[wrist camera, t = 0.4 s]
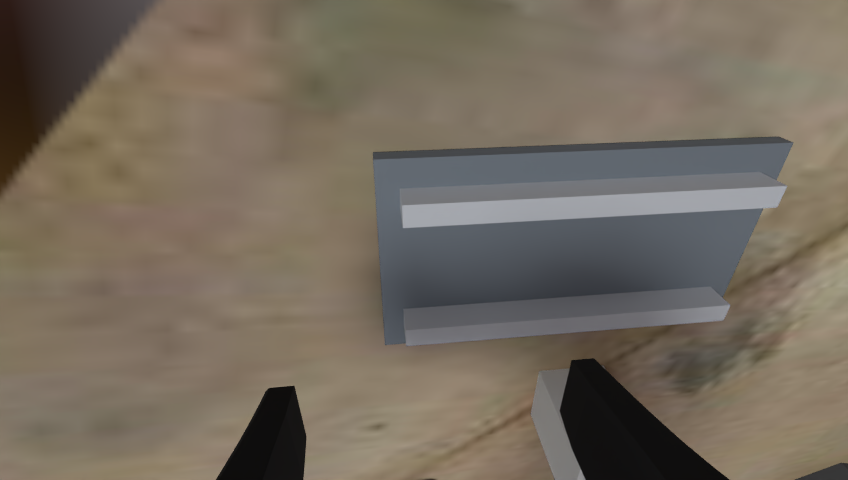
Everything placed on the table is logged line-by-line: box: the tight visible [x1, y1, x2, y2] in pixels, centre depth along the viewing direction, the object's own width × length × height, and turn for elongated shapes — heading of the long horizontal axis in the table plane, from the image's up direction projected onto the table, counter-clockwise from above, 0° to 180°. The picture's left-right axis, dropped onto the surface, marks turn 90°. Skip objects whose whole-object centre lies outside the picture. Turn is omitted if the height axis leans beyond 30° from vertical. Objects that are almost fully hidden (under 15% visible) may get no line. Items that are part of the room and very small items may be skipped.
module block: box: [531, 365, 606, 480], centre depth 25 cm, size 4×4×6 cm
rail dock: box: [373, 137, 793, 346], centre depth 20 cm, size 10×18×2 cm, turn 90°
